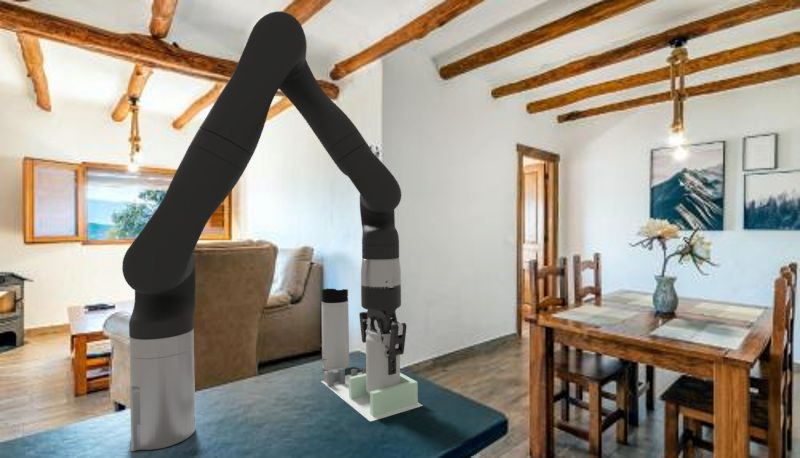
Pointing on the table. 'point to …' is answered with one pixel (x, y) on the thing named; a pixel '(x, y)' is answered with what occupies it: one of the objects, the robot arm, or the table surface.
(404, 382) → the end holder
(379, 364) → the beverage can
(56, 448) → the table surface
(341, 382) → the board
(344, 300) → the travel mug
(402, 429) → the table surface
